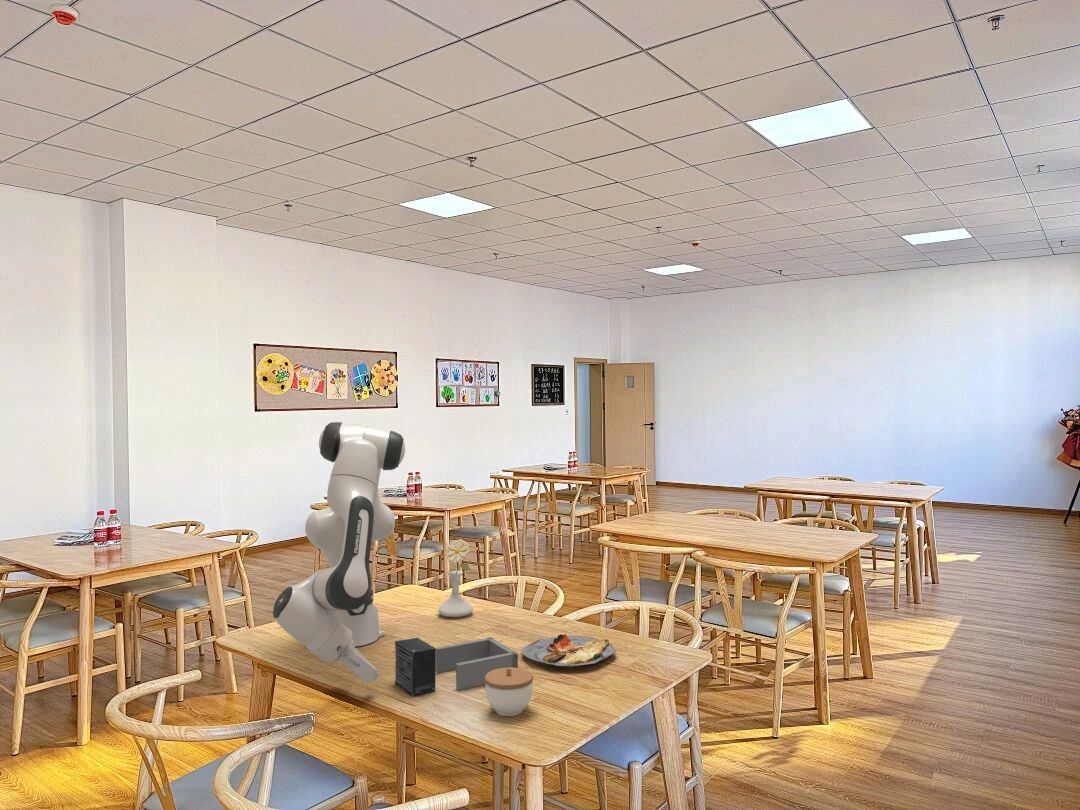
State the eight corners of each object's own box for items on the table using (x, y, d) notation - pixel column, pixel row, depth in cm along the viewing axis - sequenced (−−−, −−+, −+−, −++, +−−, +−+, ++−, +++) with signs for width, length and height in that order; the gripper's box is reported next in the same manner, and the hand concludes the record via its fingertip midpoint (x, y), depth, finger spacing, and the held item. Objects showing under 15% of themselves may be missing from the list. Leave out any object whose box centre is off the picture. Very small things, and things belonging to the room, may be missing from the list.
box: (435, 671, 190) (434, 647, 190) (491, 659, 198) (491, 637, 198) (458, 690, 177) (458, 665, 177) (518, 677, 185) (517, 653, 185)
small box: (437, 691, 177) (437, 647, 177) (412, 697, 173) (411, 652, 173) (418, 678, 185) (418, 635, 185) (394, 683, 182) (393, 640, 182)
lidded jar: (481, 703, 169) (481, 662, 169) (527, 698, 171) (527, 658, 171) (489, 723, 158) (488, 679, 158) (538, 717, 161) (537, 674, 161)
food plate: (559, 637, 217) (558, 625, 217) (629, 652, 203) (629, 639, 203) (506, 662, 196) (506, 649, 196) (580, 680, 183) (580, 666, 183)
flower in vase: (431, 615, 241) (430, 538, 241) (459, 608, 248) (458, 533, 248) (455, 623, 231) (453, 543, 231) (483, 616, 239) (482, 538, 239)
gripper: (355, 643, 161) (399, 679, 166) (331, 620, 179) (371, 653, 184) (334, 667, 159) (380, 703, 164) (312, 641, 177) (354, 674, 182)
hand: (375, 676), depth 174 cm, fingers closed
